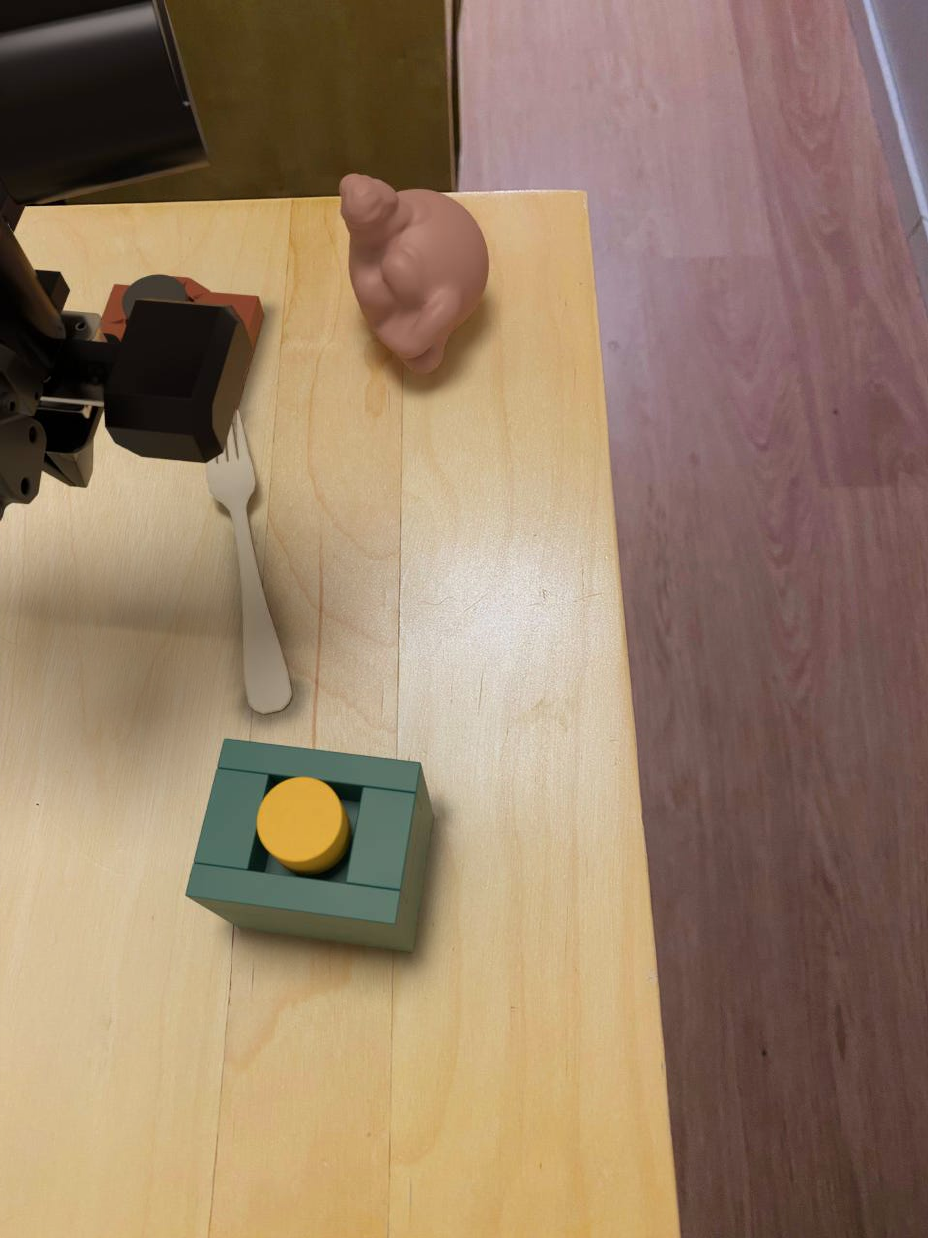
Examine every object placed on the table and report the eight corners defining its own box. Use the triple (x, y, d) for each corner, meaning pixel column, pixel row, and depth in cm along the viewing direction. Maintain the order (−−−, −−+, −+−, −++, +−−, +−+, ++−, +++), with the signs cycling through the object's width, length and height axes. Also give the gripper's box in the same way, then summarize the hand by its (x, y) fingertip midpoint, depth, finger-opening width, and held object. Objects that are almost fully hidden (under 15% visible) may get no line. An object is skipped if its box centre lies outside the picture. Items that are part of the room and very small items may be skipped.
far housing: (88, 395, 65) (67, 360, 62) (122, 301, 68) (104, 263, 65) (237, 409, 64) (223, 374, 61) (264, 313, 67) (252, 275, 64)
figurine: (359, 399, 64) (331, 259, 53) (357, 269, 69) (330, 116, 58) (496, 389, 64) (496, 247, 53) (484, 260, 69) (482, 105, 58)
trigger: (262, 869, 43) (247, 856, 41) (280, 789, 45) (266, 771, 42) (343, 880, 43) (333, 867, 40) (358, 799, 45) (349, 781, 42)
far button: (124, 343, 63) (113, 320, 61) (142, 294, 64) (131, 271, 62) (186, 348, 62) (176, 326, 60) (201, 299, 64) (193, 276, 62)
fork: (256, 727, 57) (246, 716, 55) (203, 418, 64) (191, 394, 61) (305, 716, 57) (297, 704, 55) (246, 409, 64) (237, 385, 61)
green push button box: (238, 928, 50) (184, 896, 42) (268, 793, 53) (223, 737, 45) (413, 952, 50) (395, 925, 41) (434, 814, 52) (421, 762, 44)
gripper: (-492, 388, 30) (-173, 611, 44) (104, 447, 28) (236, 659, 42) (-320, 130, 34) (-82, 407, 49) (200, 168, 33) (290, 443, 47)
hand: (82, 479), depth 47 cm, fingers closed
